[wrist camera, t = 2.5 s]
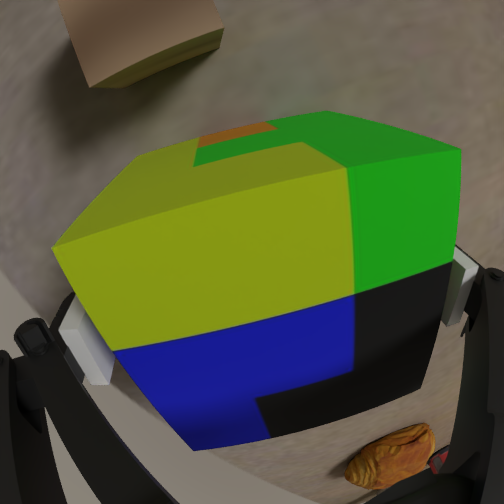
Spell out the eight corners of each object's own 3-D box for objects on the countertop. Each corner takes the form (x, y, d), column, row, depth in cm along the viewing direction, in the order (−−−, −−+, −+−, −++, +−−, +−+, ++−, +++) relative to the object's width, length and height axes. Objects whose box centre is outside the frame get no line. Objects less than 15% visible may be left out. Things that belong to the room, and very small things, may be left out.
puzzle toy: (193, 307, 20) (193, 451, 11) (137, 156, 15) (51, 248, 6) (344, 268, 20) (420, 388, 11) (326, 110, 15) (461, 149, 6)
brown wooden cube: (94, 11, 10) (53, -14, 6) (186, -30, 10) (179, -73, 6) (124, 88, 13) (89, 87, 9) (219, 48, 13) (224, 27, 8)
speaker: (421, 464, 52) (446, 521, 36) (433, 451, 48) (462, 513, 32) (446, 452, 52) (471, 506, 37) (459, 438, 49) (488, 496, 33)
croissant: (405, 441, 45) (424, 472, 38) (333, 474, 41) (351, 511, 34) (440, 400, 37) (466, 436, 31) (359, 440, 33) (385, 486, 27)
